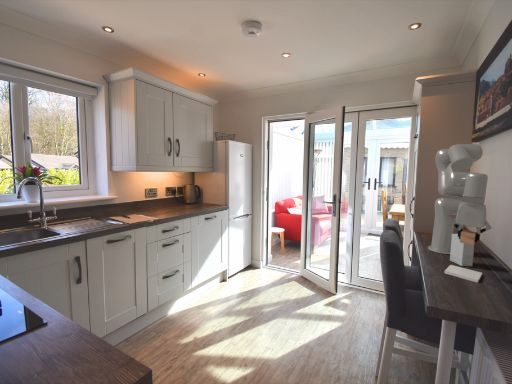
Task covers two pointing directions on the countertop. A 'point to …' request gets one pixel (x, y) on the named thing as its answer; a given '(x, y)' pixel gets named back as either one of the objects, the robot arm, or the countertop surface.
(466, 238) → the wooden cube
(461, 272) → the chopping board
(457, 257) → the skincare box
